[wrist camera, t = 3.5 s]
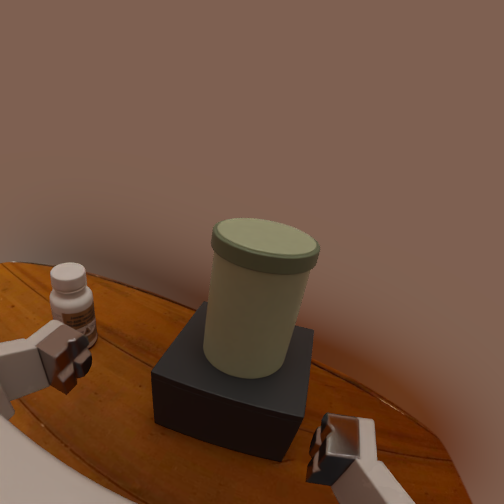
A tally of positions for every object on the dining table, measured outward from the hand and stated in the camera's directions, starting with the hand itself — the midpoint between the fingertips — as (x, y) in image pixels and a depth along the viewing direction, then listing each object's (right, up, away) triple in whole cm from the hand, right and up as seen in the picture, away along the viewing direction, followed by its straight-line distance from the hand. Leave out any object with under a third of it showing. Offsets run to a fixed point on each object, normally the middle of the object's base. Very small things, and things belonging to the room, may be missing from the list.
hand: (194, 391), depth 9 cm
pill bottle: (-16, -5, +18) cm, 24 cm away
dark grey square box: (0, -8, +15) cm, 17 cm away
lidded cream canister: (+1, -3, +13) cm, 13 cm away
